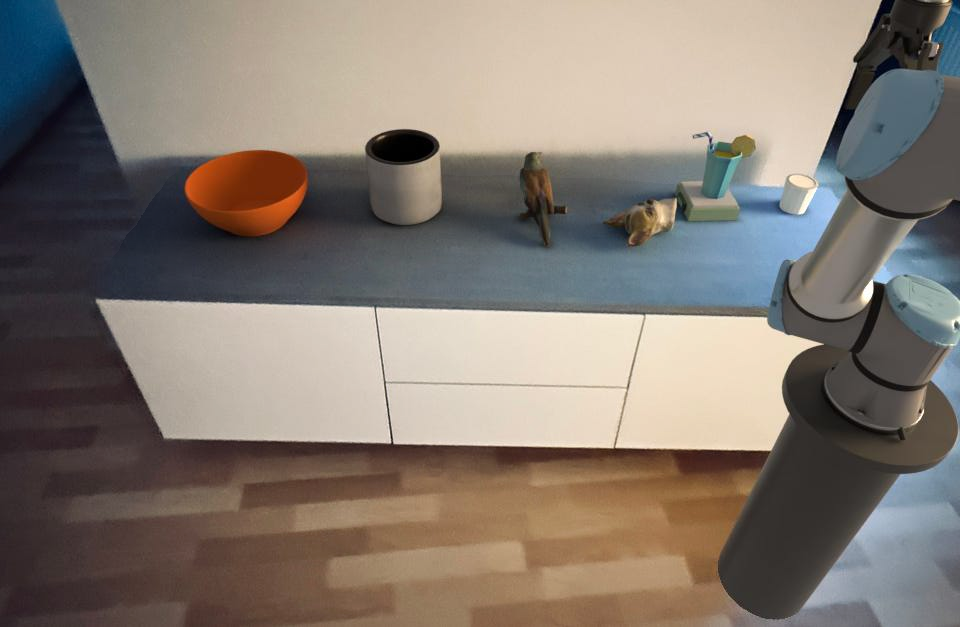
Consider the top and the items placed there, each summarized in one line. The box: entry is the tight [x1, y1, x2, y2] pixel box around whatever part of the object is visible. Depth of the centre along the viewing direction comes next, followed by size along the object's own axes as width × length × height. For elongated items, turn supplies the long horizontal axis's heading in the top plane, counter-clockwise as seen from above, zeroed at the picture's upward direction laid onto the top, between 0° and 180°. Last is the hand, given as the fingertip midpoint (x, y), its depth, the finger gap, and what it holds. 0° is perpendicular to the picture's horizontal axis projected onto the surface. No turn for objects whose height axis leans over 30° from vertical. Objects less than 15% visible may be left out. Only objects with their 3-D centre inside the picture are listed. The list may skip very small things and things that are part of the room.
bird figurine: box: [519, 151, 568, 248], centre depth 145 cm, size 13×10×20 cm
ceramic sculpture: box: [602, 197, 678, 247], centre depth 143 cm, size 11×9×15 cm
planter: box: [364, 128, 443, 226], centre depth 147 cm, size 16×16×16 cm
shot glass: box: [779, 173, 819, 215], centre depth 152 cm, size 7×7×7 cm
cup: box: [692, 131, 757, 199], centre depth 146 cm, size 14×8×15 cm, turn 96°
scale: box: [674, 180, 741, 222], centre depth 153 cm, size 11×12×4 cm
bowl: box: [184, 149, 309, 237], centre depth 145 cm, size 25×25×10 cm
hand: (870, 126), depth 116 cm, fingers open, 13 cm apart
